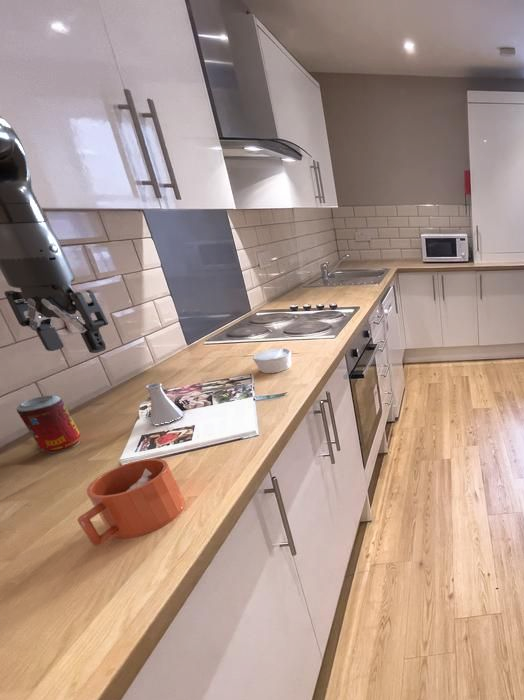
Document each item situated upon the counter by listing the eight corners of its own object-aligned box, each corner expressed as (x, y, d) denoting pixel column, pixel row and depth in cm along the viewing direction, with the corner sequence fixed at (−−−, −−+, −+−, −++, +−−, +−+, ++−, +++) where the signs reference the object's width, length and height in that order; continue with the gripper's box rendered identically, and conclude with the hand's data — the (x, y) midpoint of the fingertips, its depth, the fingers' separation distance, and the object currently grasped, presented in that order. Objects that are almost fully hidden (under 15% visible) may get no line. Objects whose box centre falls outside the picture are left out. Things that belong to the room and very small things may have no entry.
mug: (149, 494, 81) (130, 457, 77) (199, 498, 80) (182, 460, 76) (70, 552, 68) (43, 510, 64) (128, 557, 67) (104, 515, 63)
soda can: (41, 447, 97) (13, 401, 91) (82, 435, 102) (58, 390, 96) (43, 458, 92) (14, 411, 87) (85, 445, 97) (61, 399, 92)
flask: (153, 429, 103) (137, 394, 99) (148, 419, 108) (132, 385, 104) (187, 418, 108) (173, 384, 104) (181, 409, 113) (167, 376, 108)
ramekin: (299, 367, 139) (295, 353, 137) (263, 377, 132) (259, 362, 129) (287, 359, 146) (283, 345, 144) (252, 368, 139) (248, 354, 136)
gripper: (-41, 256, 61) (16, 356, 68) (40, 257, 60) (90, 360, 67) (19, 249, 68) (65, 342, 75) (94, 250, 66) (134, 344, 73)
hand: (77, 350), depth 71 cm, fingers open, 8 cm apart
